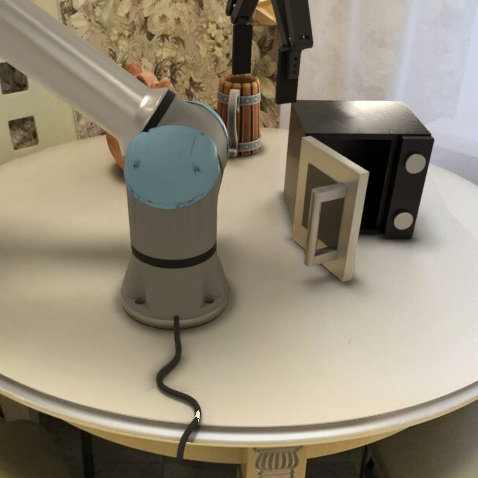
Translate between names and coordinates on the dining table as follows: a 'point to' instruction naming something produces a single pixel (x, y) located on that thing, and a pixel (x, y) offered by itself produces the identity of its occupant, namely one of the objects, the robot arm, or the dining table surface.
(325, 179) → the microwave door
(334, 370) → the dining table surface
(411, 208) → the microwave
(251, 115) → the mug
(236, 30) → the robot arm
